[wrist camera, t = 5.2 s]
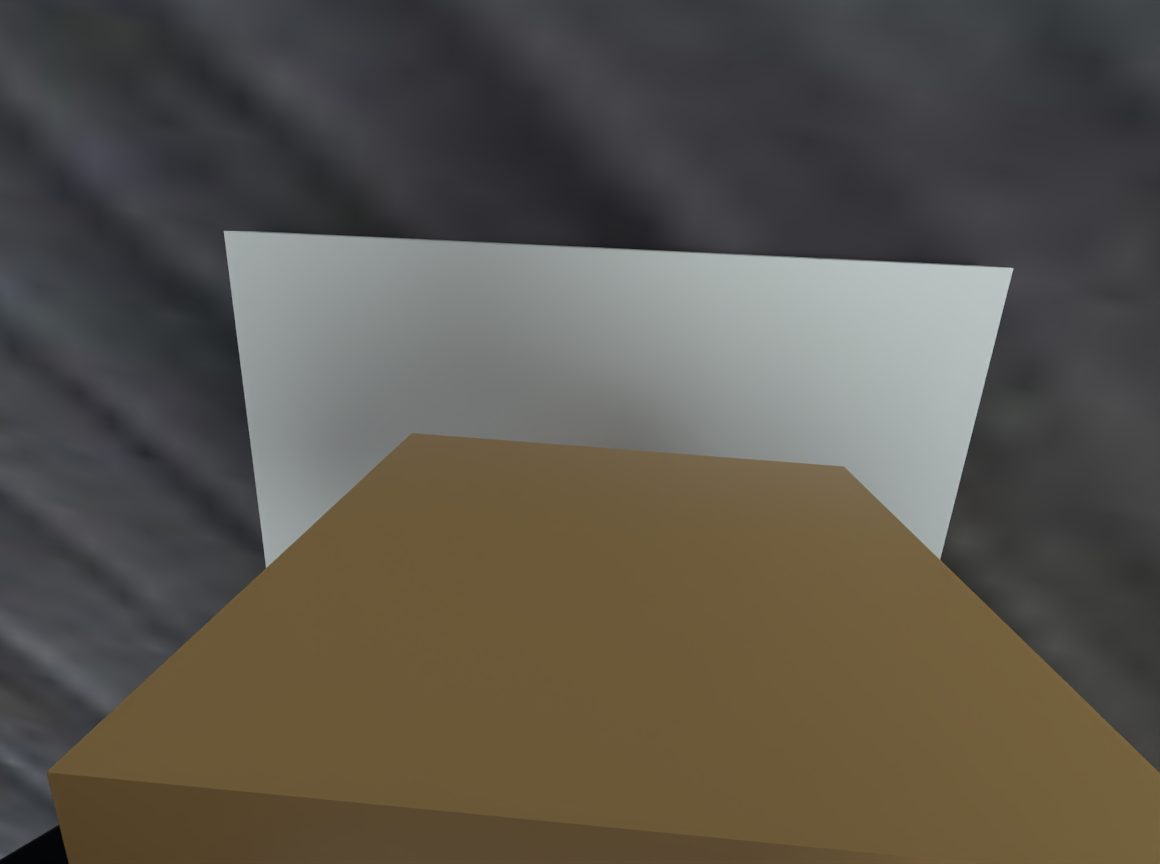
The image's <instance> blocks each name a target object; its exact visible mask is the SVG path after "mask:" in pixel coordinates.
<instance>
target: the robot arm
mask: <svg viewBox="0 0 1160 864" xmlns="http://www.w3.org/2000/svg"><path fill="white" fill-rule="evenodd" d="M0 864H69V863H68V858H67V854H66V850H65V846H64V842H63V838H62V834H61V830H60V826H59V825H58V826H56V827H54V828H53V829H51V830H49V831H48V832H46V833H44V834H43V835H41V836H39V837H38V838H36V839H34V840H33V841H31V842H29V843H28V844H26V845H24V846H23V847H21V848H19V849H18V850H16V851H14V852H12V853H11V854H9V855H7V856H6V857H4V858H2V859H1V860H0Z"/></svg>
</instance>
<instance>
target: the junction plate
mask: <svg viewBox="0 0 1160 864" xmlns="http://www.w3.org/2000/svg"><path fill="white" fill-rule="evenodd" d="M224 237H225V245H226V253H227V261H228V269H229V277H230V285H231V293H232V300H233V308H234V316H235V324H236V332H237V340H238V348H239V356H240V364H241V372H242V380H243V388H244V396H245V404H246V412H247V419H248V427H249V435H250V443H251V451H252V459H253V467H254V475H255V483H256V491H257V499H258V507H259V515H260V523H261V531H262V538H263V546H264V554H265V562H266V568H267V567H268V566H269V565H270V564H271V563H272V562H273V561H274V560H275V559H277V558H278V557H279V556H280V555H281V554H282V553H283V552H284V551H285V550H286V549H287V548H288V547H289V546H291V545H292V544H293V543H294V542H295V541H296V540H297V539H298V538H299V537H300V536H301V535H302V534H303V533H305V532H306V531H307V530H308V529H309V528H310V527H311V526H312V525H313V524H314V523H315V522H316V521H317V520H319V519H320V518H321V517H322V516H323V515H324V514H325V513H326V512H327V511H328V510H329V509H330V508H331V507H333V506H334V505H335V504H336V503H337V502H338V501H339V500H340V499H341V498H342V497H343V496H344V495H345V494H347V493H348V492H349V491H350V490H351V489H352V488H353V487H354V486H355V485H356V484H357V483H358V482H359V481H361V480H362V479H363V478H364V477H365V476H366V475H367V474H368V473H369V472H370V471H371V470H372V469H373V468H375V467H376V466H377V465H378V464H379V463H380V462H381V461H382V460H383V459H384V458H385V457H386V456H387V455H389V454H390V453H391V452H392V451H393V450H394V449H395V448H396V447H397V446H398V445H399V444H400V443H401V442H403V441H404V440H405V439H406V438H407V437H408V436H409V435H410V434H411V433H418V434H431V435H444V436H457V437H470V438H483V439H495V440H508V441H521V442H534V443H547V444H560V445H573V446H586V447H599V448H612V449H625V450H638V451H651V452H664V453H677V454H690V455H703V456H715V457H728V458H741V459H754V460H767V461H780V462H793V463H806V464H819V465H832V466H844V467H845V468H846V469H847V470H848V471H849V472H850V473H851V474H852V475H853V476H854V477H855V478H856V479H857V480H858V481H859V482H860V483H861V484H862V485H863V486H864V487H865V488H867V489H868V490H869V491H870V492H871V493H872V494H873V495H874V496H875V497H876V498H877V499H878V500H879V501H880V502H881V503H882V504H883V505H884V506H885V507H886V508H887V509H888V510H889V511H890V512H891V513H892V514H893V515H894V516H895V517H896V518H897V519H898V520H899V521H901V522H902V523H903V524H904V525H905V526H906V527H907V528H908V529H909V530H910V531H911V532H912V533H913V534H914V535H915V536H916V537H917V538H918V539H919V540H920V541H921V542H922V543H923V544H924V545H925V546H926V547H927V548H928V549H929V550H930V551H931V552H932V553H933V554H935V555H936V556H937V557H938V558H939V559H940V558H941V554H942V550H943V546H944V542H945V538H946V534H947V530H948V526H949V522H950V518H951V514H952V510H953V506H954V502H955V498H956V494H957V490H958V486H959V482H960V478H961V474H962V470H963V466H964V462H965V459H966V455H967V451H968V447H969V443H970V439H971V435H972V431H973V427H974V423H975V419H976V415H977V411H978V407H979V403H980V399H981V395H982V391H983V387H984V383H985V379H986V375H987V371H988V367H989V363H990V359H991V355H992V351H993V347H994V343H995V339H996V335H997V331H998V327H999V323H1000V319H1001V315H1002V311H1003V307H1004V303H1005V299H1006V295H1007V291H1008V287H1009V283H1010V279H1011V276H1012V272H1013V268H1005V267H992V266H980V265H959V264H938V263H917V262H896V261H874V260H853V259H832V258H811V257H790V256H768V255H747V254H726V253H705V252H684V251H662V250H641V249H620V248H599V247H578V246H557V245H535V244H514V243H493V242H472V241H451V240H429V239H408V238H387V237H366V236H345V235H323V234H302V233H281V232H260V231H224Z"/></svg>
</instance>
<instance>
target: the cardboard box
mask: <svg viewBox="0 0 1160 864" xmlns="http://www.w3.org/2000/svg"><path fill="white" fill-rule="evenodd" d="M47 776H48V780H49V785H50V789H51V793H52V797H53V801H54V805H55V809H56V813H57V817H58V821H59V826H60V830H61V834H62V838H63V842H64V846H65V850H66V854H67V858H68V863H69V864H1160V773H1159V772H1158V771H1157V770H1156V769H1155V768H1154V767H1153V766H1152V765H1151V764H1150V763H1149V762H1148V761H1147V760H1146V759H1145V758H1144V757H1143V756H1142V755H1141V754H1140V753H1139V752H1137V751H1136V750H1135V749H1134V748H1133V747H1132V746H1131V745H1130V744H1129V743H1128V742H1127V741H1126V740H1125V739H1124V738H1123V737H1122V736H1121V735H1120V734H1119V733H1118V732H1117V731H1116V730H1115V729H1114V728H1113V727H1112V726H1111V725H1110V724H1109V723H1108V722H1107V721H1106V720H1105V719H1103V718H1102V717H1101V716H1100V715H1099V714H1098V713H1097V712H1096V711H1095V710H1094V709H1093V708H1092V707H1091V706H1090V705H1089V704H1088V703H1087V702H1086V701H1085V700H1084V699H1083V698H1082V697H1081V696H1080V695H1079V694H1078V693H1077V692H1076V691H1075V690H1074V689H1073V688H1072V687H1071V686H1069V685H1068V684H1067V683H1066V682H1065V681H1064V680H1063V679H1062V678H1061V677H1060V676H1059V675H1058V674H1057V673H1056V672H1055V671H1054V670H1053V669H1052V668H1051V667H1050V666H1049V665H1048V664H1047V663H1046V662H1045V661H1044V660H1043V659H1042V658H1041V657H1040V656H1039V655H1038V654H1037V653H1035V652H1034V651H1033V650H1032V649H1031V648H1030V647H1029V646H1028V645H1027V644H1026V643H1025V642H1024V641H1023V640H1022V639H1021V638H1020V637H1019V636H1018V635H1017V634H1016V633H1015V632H1014V631H1013V630H1012V629H1011V628H1010V627H1009V626H1008V625H1007V624H1006V623H1005V622H1004V621H1003V620H1001V619H1000V618H999V617H998V616H997V615H996V614H995V613H994V612H993V611H992V610H991V609H990V608H989V607H988V606H987V605H986V604H985V603H984V602H983V601H982V600H981V599H980V598H979V597H978V596H977V595H976V594H975V593H974V592H973V591H972V590H971V589H970V588H969V587H967V586H966V585H965V584H964V583H963V582H962V581H961V580H960V579H959V578H958V577H957V576H956V575H955V574H954V573H953V572H952V571H951V570H950V569H949V568H948V567H947V566H946V565H945V564H944V563H943V562H942V561H941V560H940V559H939V558H938V557H937V556H936V555H935V554H933V553H932V552H931V551H930V550H929V549H928V548H927V547H926V546H925V545H924V544H923V543H922V542H921V541H920V540H919V539H918V538H917V537H916V536H915V535H914V534H913V533H912V532H911V531H910V530H909V529H908V528H907V527H906V526H905V525H904V524H903V523H902V522H901V521H899V520H898V519H897V518H896V517H895V516H894V515H893V514H892V513H891V512H890V511H889V510H888V509H887V508H886V507H885V506H884V505H883V504H882V503H881V502H880V501H879V500H878V499H877V498H876V497H875V496H874V495H873V494H872V493H871V492H870V491H869V490H868V489H867V488H865V487H864V486H863V485H862V484H861V483H860V482H859V481H858V480H857V479H856V478H855V477H854V476H853V475H852V474H851V473H850V472H849V471H848V470H847V469H846V468H845V467H844V466H832V465H819V464H806V463H793V462H780V461H767V460H754V459H741V458H728V457H715V456H703V455H690V454H677V453H664V452H651V451H638V450H625V449H612V448H599V447H586V446H573V445H560V444H547V443H534V442H521V441H508V440H495V439H483V438H470V437H457V436H444V435H431V434H418V433H411V434H410V435H409V436H408V437H407V438H406V439H405V440H404V441H403V442H401V443H400V444H399V445H398V446H397V447H396V448H395V449H394V450H393V451H392V452H391V453H390V454H389V455H387V456H386V457H385V458H384V459H383V460H382V461H381V462H380V463H379V464H378V465H377V466H376V467H375V468H373V469H372V470H371V471H370V472H369V473H368V474H367V475H366V476H365V477H364V478H363V479H362V480H361V481H359V482H358V483H357V484H356V485H355V486H354V487H353V488H352V489H351V490H350V491H349V492H348V493H347V494H345V495H344V496H343V497H342V498H341V499H340V500H339V501H338V502H337V503H336V504H335V505H334V506H333V507H331V508H330V509H329V510H328V511H327V512H326V513H325V514H324V515H323V516H322V517H321V518H320V519H319V520H317V521H316V522H315V523H314V524H313V525H312V526H311V527H310V528H309V529H308V530H307V531H306V532H305V533H303V534H302V535H301V536H300V537H299V538H298V539H297V540H296V541H295V542H294V543H293V544H292V545H291V546H289V547H288V548H287V549H286V550H285V551H284V552H283V553H282V554H281V555H280V556H279V557H278V558H277V559H275V560H274V561H273V562H272V563H271V564H270V565H269V566H268V567H267V568H266V569H265V570H264V571H263V572H261V573H260V574H259V575H258V576H257V577H256V578H255V579H254V580H253V581H252V582H251V583H250V584H249V585H248V586H246V587H245V588H244V589H243V590H242V591H241V592H240V593H239V594H238V595H237V596H236V597H235V598H234V599H232V600H231V601H230V602H229V603H228V604H227V605H226V606H225V607H224V608H223V609H222V610H221V611H220V612H218V613H217V614H216V615H215V616H214V617H213V618H212V619H211V620H210V621H209V622H208V623H207V624H206V625H204V626H203V627H202V628H201V629H200V630H199V631H198V632H197V633H196V634H195V635H194V636H193V637H192V638H190V639H189V640H188V641H187V642H186V643H185V644H184V645H183V646H182V647H181V648H180V649H179V650H178V651H176V652H175V653H174V654H173V655H172V656H171V657H170V658H169V659H168V660H167V661H166V662H165V663H164V664H162V665H161V666H160V667H159V668H158V669H157V670H156V671H155V672H154V673H153V674H152V675H151V676H150V677H148V678H147V679H146V680H145V681H144V682H143V683H142V684H141V685H140V686H139V687H138V688H137V689H136V690H134V691H133V692H132V693H131V694H130V695H129V696H128V697H127V698H126V699H125V700H124V701H123V702H122V703H120V704H119V705H118V706H117V707H116V708H115V709H114V710H113V711H112V712H111V713H110V714H109V715H108V716H106V717H105V718H104V719H103V720H102V721H101V722H100V723H99V724H98V725H97V726H96V727H95V728H94V729H92V730H91V731H90V732H89V733H88V734H87V735H86V736H85V737H84V738H83V739H82V740H81V741H80V742H78V743H77V744H76V745H75V746H74V747H73V748H72V749H71V750H70V751H69V752H68V753H67V754H66V755H64V756H63V757H62V758H61V759H60V760H59V761H58V762H57V763H56V764H55V765H54V766H53V767H52V768H50V769H49V770H48V771H47Z"/></svg>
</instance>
